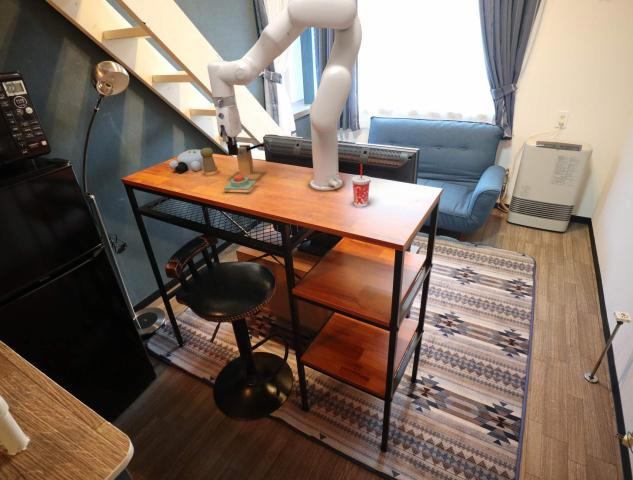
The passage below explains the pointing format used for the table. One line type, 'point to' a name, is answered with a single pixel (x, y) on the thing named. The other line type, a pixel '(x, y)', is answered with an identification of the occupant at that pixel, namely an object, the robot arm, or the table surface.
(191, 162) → the figurine
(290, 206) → the table surface
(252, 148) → the lever
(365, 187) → the beverage cup
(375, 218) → the table surface
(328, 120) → the robot arm
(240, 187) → the button block
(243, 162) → the bracket
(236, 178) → the button
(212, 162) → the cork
